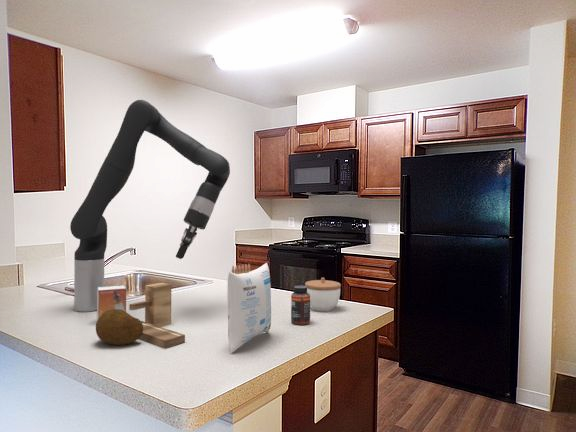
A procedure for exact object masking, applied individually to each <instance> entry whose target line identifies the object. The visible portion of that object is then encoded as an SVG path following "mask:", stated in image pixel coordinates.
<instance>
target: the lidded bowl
mask: <svg viewBox="0 0 576 432" xmlns="http://www.w3.org/2000/svg"><path fill="white" fill-rule="evenodd" d="M304 286H307V293H309V294H310V308H311V309H312V310H313V311H317V312H331V311H333V309H334V308H335V307H336V306H337V305H338V303H339V300H340V298H341V297H340V296H341V287H342V284H341V283H340V282H338V281H334V280H327V279H325V277H321V278H320V279H314V280H308V281H305V283H304Z"/></svg>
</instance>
